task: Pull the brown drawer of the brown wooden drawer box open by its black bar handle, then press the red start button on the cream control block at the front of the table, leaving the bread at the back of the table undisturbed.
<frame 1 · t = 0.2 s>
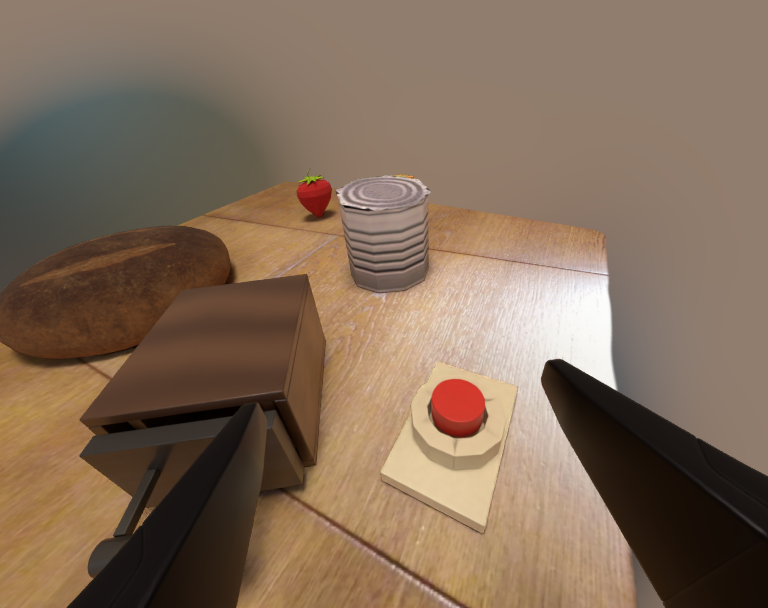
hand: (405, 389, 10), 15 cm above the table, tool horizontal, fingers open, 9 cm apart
control block: (455, 433, 24), on the table
strawberry: (320, 218, 66), on the table
can: (389, 272, 45), on the table
bread: (140, 298, 45), on the table
brown drawer: (223, 416, 22), point 4 cm above the table, slide at 0.5 cm
start button: (457, 406, 22), point 3 cm above the table, slide at 0.1 cm
brown wooden drawer box: (258, 399, 28), on the table
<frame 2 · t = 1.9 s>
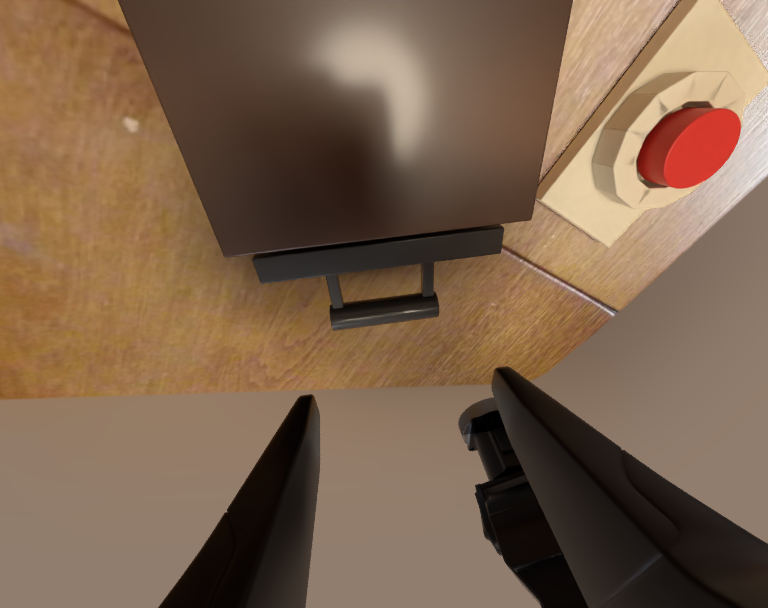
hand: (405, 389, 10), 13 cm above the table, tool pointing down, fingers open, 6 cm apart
control block: (633, 141, 19), on the table
brown drawer: (367, 157, 14), point 4 cm above the table, slide at 0.5 cm
start button: (685, 149, 16), point 3 cm above the table, slide at 0.1 cm
brown wooden drawer box: (350, 38, 15), on the table
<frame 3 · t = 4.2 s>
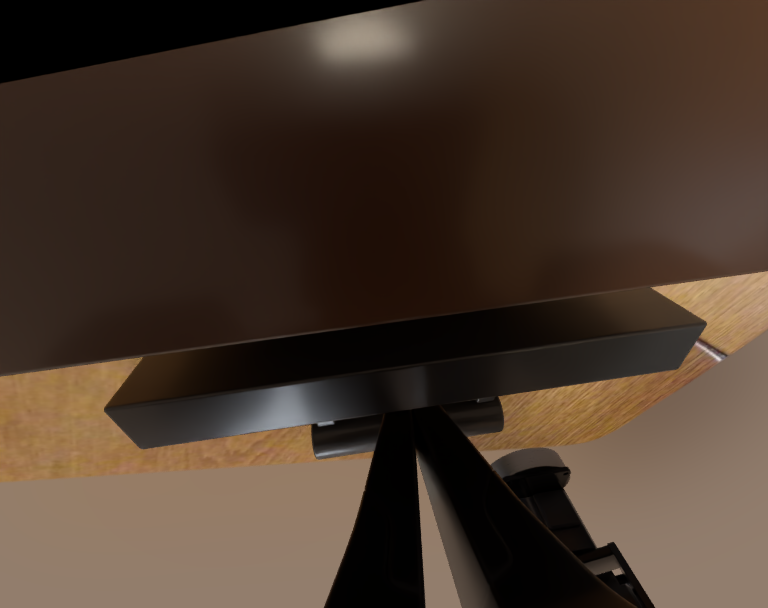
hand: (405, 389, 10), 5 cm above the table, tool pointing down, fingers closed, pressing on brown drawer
brown drawer: (382, 158, 6), point 4 cm above the table, slide at 1.6 cm, touching gripper
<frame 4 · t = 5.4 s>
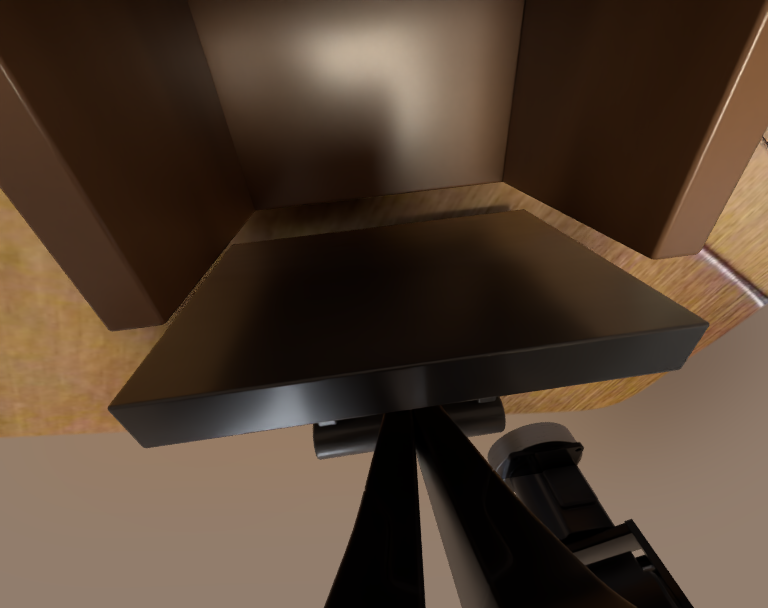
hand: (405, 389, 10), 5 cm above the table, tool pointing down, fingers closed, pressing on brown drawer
brown drawer: (385, 158, 6), point 4 cm above the table, slide at 5.8 cm, touching gripper
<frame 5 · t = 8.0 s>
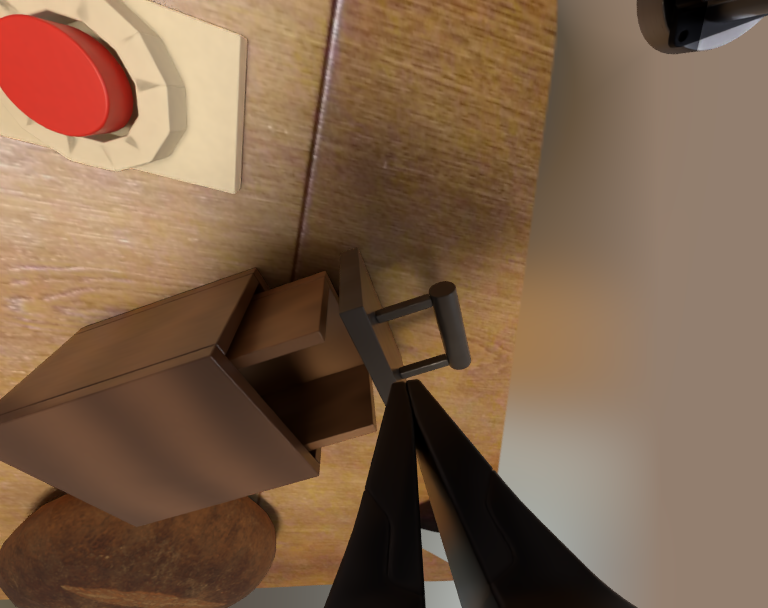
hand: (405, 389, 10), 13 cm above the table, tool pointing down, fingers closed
control block: (121, 85, 15), on the table
bread: (168, 525, 39), on the table
brown drawer: (331, 356, 20), point 4 cm above the table, slide at 5.8 cm
start button: (67, 81, 12), point 3 cm above the table, slide at 0.1 cm
brown wooden drawer box: (217, 355, 24), on the table
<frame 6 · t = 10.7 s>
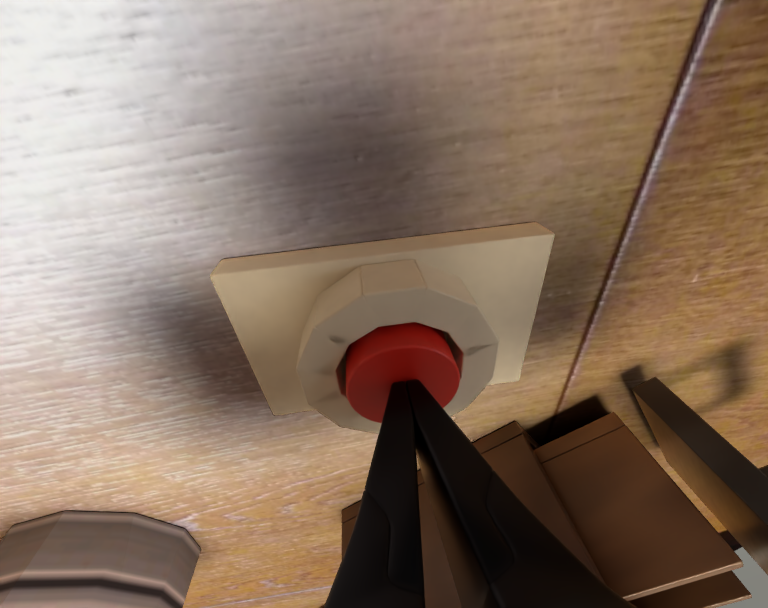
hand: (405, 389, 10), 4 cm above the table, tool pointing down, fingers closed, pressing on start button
control block: (389, 319, 13), on the table
can: (112, 545, 21), on the table
brown drawer: (652, 511, 16), point 4 cm above the table, slide at 5.8 cm
start button: (399, 369, 10), point 3 cm above the table, slide at -0.6 cm, touching gripper
brown wooden drawer box: (464, 497, 22), on the table
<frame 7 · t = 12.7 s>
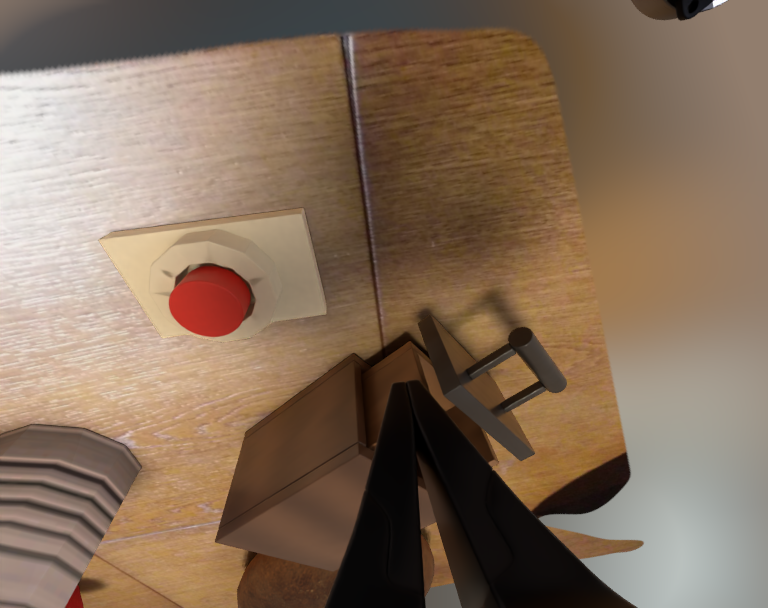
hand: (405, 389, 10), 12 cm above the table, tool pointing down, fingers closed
control block: (231, 272, 20), on the table
strawberry: (74, 581, 41), on the table
can: (71, 460, 28), on the table
bread: (340, 552, 46), on the table
brown drawer: (438, 409, 23), point 4 cm above the table, slide at 5.8 cm
start button: (212, 302, 17), point 3 cm above the table, slide at 0.1 cm
brown wooden drawer box: (342, 423, 29), on the table
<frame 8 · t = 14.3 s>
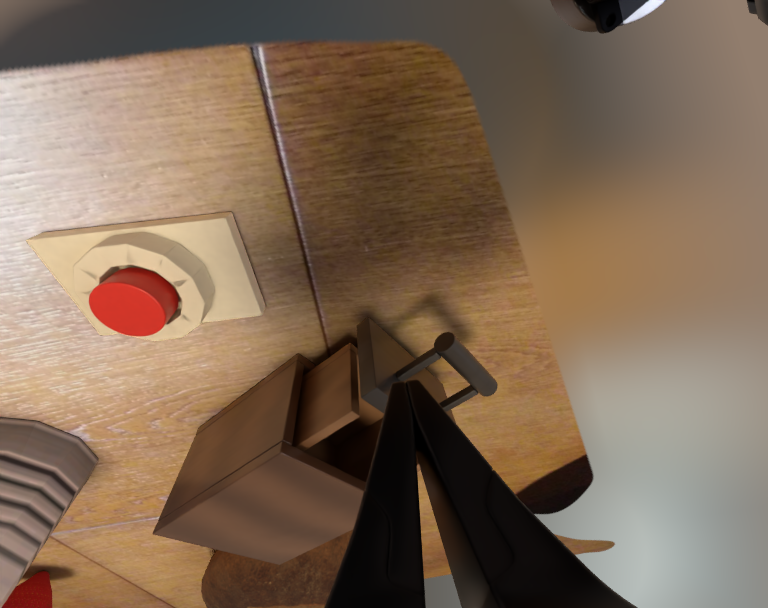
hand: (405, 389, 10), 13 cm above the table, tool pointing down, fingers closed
control block: (166, 273, 20), on the table
strawberry: (44, 569, 42), on the table
can: (28, 451, 29), on the table
bread: (308, 546, 47), on the table
brown drawer: (376, 409, 24), point 4 cm above the table, slide at 5.8 cm
start button: (136, 302, 17), point 3 cm above the table, slide at 0.1 cm
brown wooden drawer box: (295, 420, 30), on the table
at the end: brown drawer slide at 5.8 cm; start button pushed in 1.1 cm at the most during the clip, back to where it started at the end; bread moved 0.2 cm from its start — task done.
